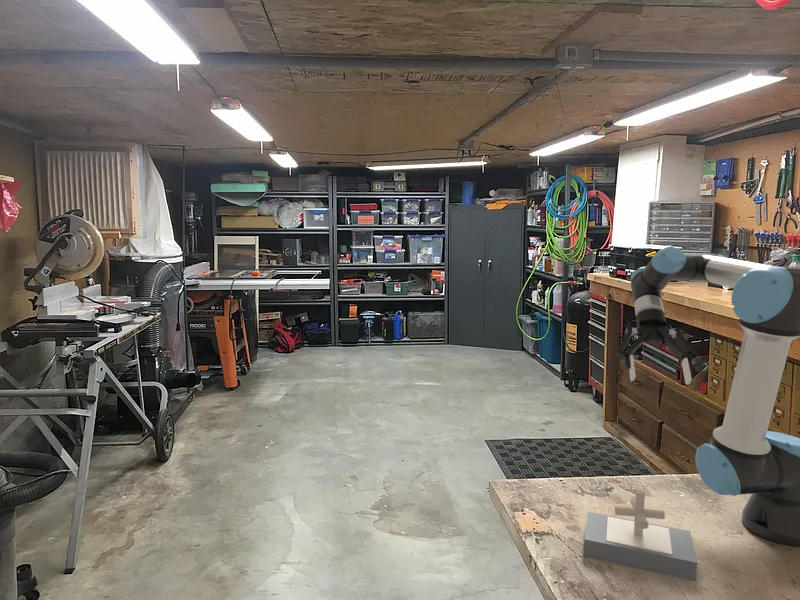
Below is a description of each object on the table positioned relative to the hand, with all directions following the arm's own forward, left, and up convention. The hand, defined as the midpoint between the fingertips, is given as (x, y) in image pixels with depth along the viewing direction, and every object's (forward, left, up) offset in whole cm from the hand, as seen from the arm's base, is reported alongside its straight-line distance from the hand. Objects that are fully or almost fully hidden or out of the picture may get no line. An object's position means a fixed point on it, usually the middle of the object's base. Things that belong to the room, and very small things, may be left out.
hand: (660, 380), depth 144 cm
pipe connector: (+4, +29, -29) cm, 41 cm away
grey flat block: (+4, +29, -33) cm, 44 cm away
